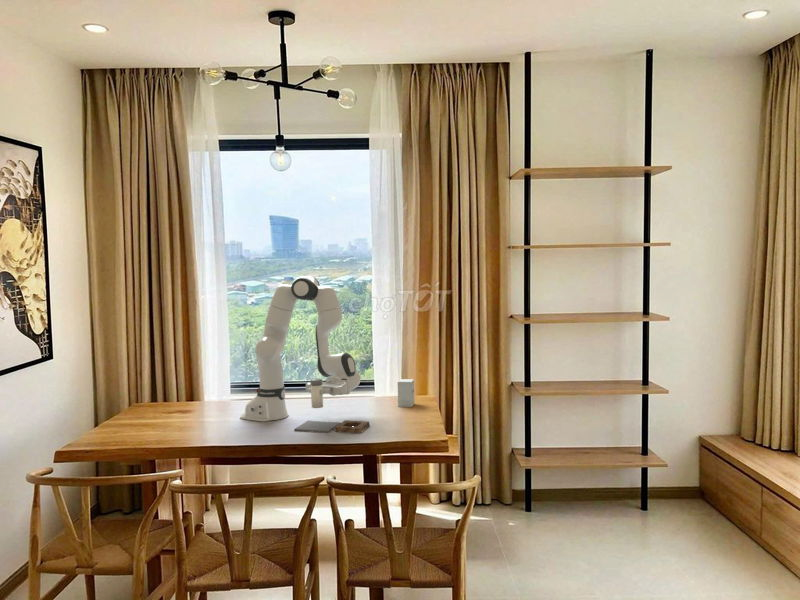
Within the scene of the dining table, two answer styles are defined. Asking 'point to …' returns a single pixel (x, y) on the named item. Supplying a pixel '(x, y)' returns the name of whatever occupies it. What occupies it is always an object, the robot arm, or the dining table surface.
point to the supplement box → (405, 392)
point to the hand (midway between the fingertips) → (315, 391)
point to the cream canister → (316, 393)
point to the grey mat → (317, 426)
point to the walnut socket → (347, 426)
